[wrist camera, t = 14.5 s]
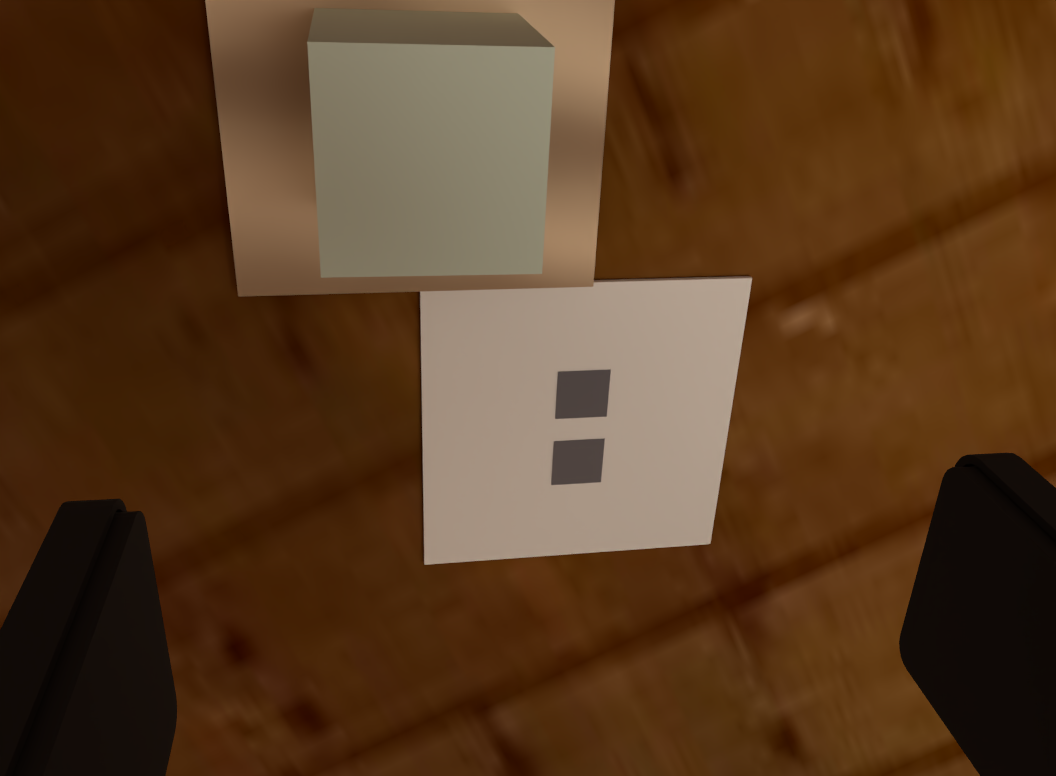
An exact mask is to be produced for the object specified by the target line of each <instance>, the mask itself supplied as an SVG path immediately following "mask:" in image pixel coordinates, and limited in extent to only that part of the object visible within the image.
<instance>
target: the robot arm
mask: <svg viewBox="0 0 1056 776" xmlns="http://www.w3.org/2000/svg"><path fill="white" fill-rule="evenodd" d="M899 645H900V653H901V658H902V661H903V663H904V665H905V667H906V669H907V670H908V672H909V673H910V675H911V676H912V678H913V679H914V681H915V682H916V683H917V685H918V686H919V688H920V689H921V691H922V692H923V694H924V695H925V696H926V698H927V699H928V701H929V702H930V704H931V705H932V707H933V708H934V709H935V711H936V712H937V714H938V715H939V717H940V718H941V720H942V721H943V722H944V724H945V725H946V727H947V728H948V730H949V731H950V733H951V734H952V735H953V737H954V738H955V740H956V741H957V743H958V744H959V746H960V747H961V748H962V750H963V751H964V753H965V754H966V756H967V757H968V759H969V760H970V761H971V763H972V764H973V766H974V767H975V769H976V770H977V772H978V773H979V774H980V776H1056V488H1055V487H1054V486H1053V485H1051V484H1050V483H1049V482H1048V481H1047V480H1046V479H1045V478H1043V477H1042V476H1041V475H1040V474H1039V473H1038V472H1037V471H1035V470H1034V469H1033V468H1032V467H1031V466H1030V465H1029V464H1027V463H1026V462H1025V461H1024V460H1023V459H1022V458H1020V457H1019V456H1017V455H1015V454H1013V453H994V454H974V455H966V456H963V457H961V458H960V459H959V461H958V462H957V463H956V465H955V467H953V468H950V469H948V470H947V472H946V473H945V474H944V477H943V479H942V483H941V487H940V490H939V494H938V498H937V501H936V505H935V509H934V512H933V516H932V520H931V523H930V527H929V531H928V535H927V538H926V542H925V546H924V549H923V553H922V557H921V560H920V564H919V568H918V572H917V575H916V579H915V583H914V586H913V590H912V594H911V597H910V601H909V605H908V609H907V612H906V616H905V620H904V623H903V627H902V631H901V634H900V641H899ZM176 719H177V701H176V693H175V687H174V681H173V676H172V670H171V664H170V658H169V653H168V647H167V641H166V635H165V630H164V624H163V618H162V613H161V607H160V601H159V595H158V590H157V584H156V578H155V572H154V567H153V561H152V555H151V549H150V544H149V538H148V532H147V527H146V522H145V517H144V515H143V513H142V512H141V511H133V512H127V511H126V507H125V505H124V503H123V501H122V500H120V499H107V500H87V501H68V502H65V503H63V504H62V505H61V507H60V508H59V510H58V512H57V514H56V516H55V518H54V520H53V523H52V525H51V527H50V529H49V531H48V533H47V535H46V537H45V539H44V541H43V543H42V545H41V547H40V549H39V551H38V553H37V556H36V558H35V560H34V562H33V564H32V566H31V568H30V570H29V572H28V574H27V576H26V578H25V580H24V582H23V584H22V586H21V589H20V591H19V593H18V595H17V597H16V599H15V601H14V603H13V605H12V607H11V609H10V611H9V613H8V615H7V617H6V620H5V622H4V624H3V626H2V628H1V630H0V776H165V774H166V770H167V765H168V761H169V756H170V752H171V747H172V743H173V738H174V734H175V728H176Z"/></svg>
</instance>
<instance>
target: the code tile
mask: <svg viewBox="0 0 1056 776" xmlns="http://www.w3.org/2000/svg"><path fill="white" fill-rule="evenodd" d="M751 282H752V277H751V276H732V277H694V278H656V279H619V280H594V284H593V287H565V288H529V289H493V290H456V291H420V332H421V395H422V458H423V521H424V565H427V564H441V563H455V562H469V561H483V560H496V559H510V558H524V557H538V556H552V555H566V554H580V553H593V552H607V551H621V550H635V549H649V548H663V547H676V546H690V545H704V544H710V543H711V536H712V530H713V524H714V517H715V511H716V505H717V498H718V492H719V486H720V479H721V473H722V467H723V460H724V454H725V447H726V441H727V435H728V428H729V422H730V416H731V409H732V403H733V397H734V390H735V384H736V378H737V371H738V365H739V359H740V352H741V346H742V339H743V333H744V327H745V320H746V314H747V308H748V301H749V295H750V289H751Z"/></svg>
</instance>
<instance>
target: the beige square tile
mask: <svg viewBox="0 0 1056 776" xmlns="http://www.w3.org/2000/svg"><path fill="white" fill-rule="evenodd" d="M205 3H206V12H207V21H208V30H209V39H210V48H211V57H212V66H213V74H214V83H215V92H216V101H217V110H218V119H219V128H220V137H221V146H222V155H223V164H224V173H225V182H226V191H227V200H228V209H229V218H230V227H231V236H232V245H233V254H234V263H235V272H236V281H237V290H238V296H274V295H311V294H347V293H383V292H420V291H456V290H493V289H529V288H565V287H593V284H594V270H595V257H596V244H597V230H598V217H599V204H600V190H601V177H602V164H603V150H604V137H605V124H606V110H607V97H608V84H609V70H610V57H611V44H612V30H613V17H614V4H615V0H205ZM314 8H337V9H374V10H410V11H446V12H482V13H518V14H519V15H520V16H521V17H523V18H524V19H525V20H526V21H527V22H528V23H529V24H530V25H531V26H532V27H533V28H535V29H536V30H537V31H538V32H539V33H540V34H541V35H542V36H543V37H544V38H545V39H547V40H548V41H549V42H550V43H551V44H552V45H553V46H554V47H555V57H554V75H553V92H552V110H551V127H550V145H549V162H548V180H547V198H546V215H545V233H544V250H543V268H542V274H510V275H451V276H391V277H332V278H321V271H320V254H319V237H318V219H317V202H316V185H315V168H314V150H313V133H312V116H311V98H310V81H309V64H308V46H307V41H308V36H309V31H310V27H311V22H312V17H313V13H314Z"/></svg>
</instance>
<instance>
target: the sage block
mask: <svg viewBox="0 0 1056 776" xmlns="http://www.w3.org/2000/svg"><path fill="white" fill-rule="evenodd" d="M307 46H308V64H309V81H310V98H311V116H312V133H313V150H314V168H315V185H316V202H317V219H318V237H319V254H320V271H321V278H332V277H391V276H451V275H510V274H542V268H543V250H544V233H545V215H546V198H547V180H548V162H549V145H550V127H551V110H552V92H553V75H554V57H555V47H554V46H553V45H552V44H551V43H550V42H549V41H548V40H547V39H545V38H544V37H543V36H542V35H541V34H540V33H539V32H538V31H537V30H536V29H535V28H533V27H532V26H531V25H530V24H529V23H528V22H527V21H526V20H525V19H524V18H523V17H521V16H520V15H519V14H518V13H482V12H446V11H410V10H374V9H337V8H314V13H313V17H312V22H311V27H310V31H309V36H308V41H307Z"/></svg>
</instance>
